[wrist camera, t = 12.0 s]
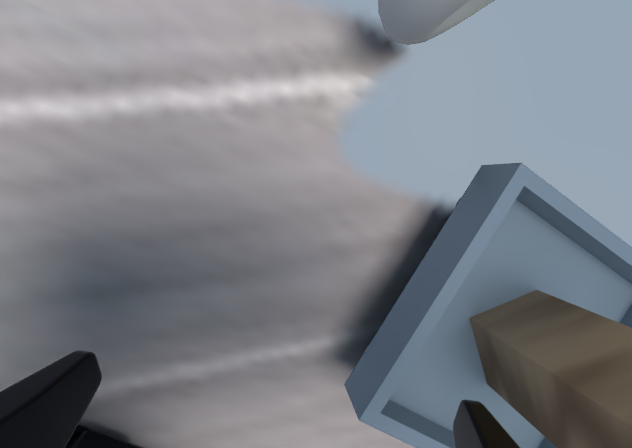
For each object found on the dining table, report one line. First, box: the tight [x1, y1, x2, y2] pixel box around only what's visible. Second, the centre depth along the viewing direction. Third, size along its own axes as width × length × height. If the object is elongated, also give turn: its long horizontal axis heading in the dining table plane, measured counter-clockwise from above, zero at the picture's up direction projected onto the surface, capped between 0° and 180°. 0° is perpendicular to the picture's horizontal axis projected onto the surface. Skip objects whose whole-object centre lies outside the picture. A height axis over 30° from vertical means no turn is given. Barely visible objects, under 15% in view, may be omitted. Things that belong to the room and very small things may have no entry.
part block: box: [469, 290, 632, 448], centre depth 14 cm, size 4×4×12 cm
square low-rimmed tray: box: [344, 163, 632, 448], centre depth 21 cm, size 15×14×5 cm
